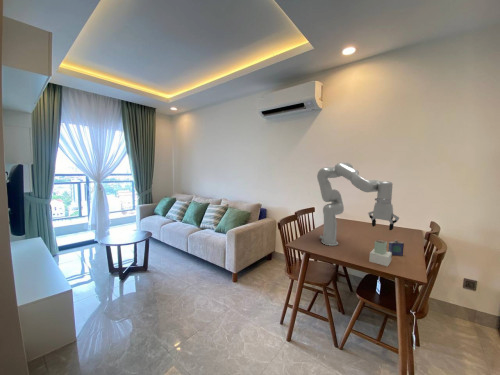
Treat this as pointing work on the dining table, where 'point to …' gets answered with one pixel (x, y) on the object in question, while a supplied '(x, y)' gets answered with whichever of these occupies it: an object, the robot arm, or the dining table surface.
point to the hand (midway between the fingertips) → (382, 228)
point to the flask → (396, 248)
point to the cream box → (380, 258)
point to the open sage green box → (380, 247)
